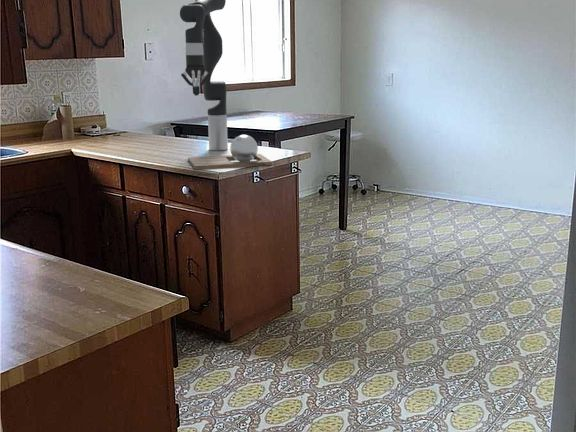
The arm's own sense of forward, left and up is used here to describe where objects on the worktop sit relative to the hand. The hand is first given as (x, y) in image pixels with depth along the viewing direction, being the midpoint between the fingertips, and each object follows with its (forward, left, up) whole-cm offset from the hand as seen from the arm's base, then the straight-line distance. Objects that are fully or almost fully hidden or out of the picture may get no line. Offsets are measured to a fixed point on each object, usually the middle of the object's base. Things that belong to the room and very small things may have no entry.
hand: (196, 95), depth 272 cm
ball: (+9, +18, -23) cm, 31 cm away
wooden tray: (+9, +12, -29) cm, 32 cm away
